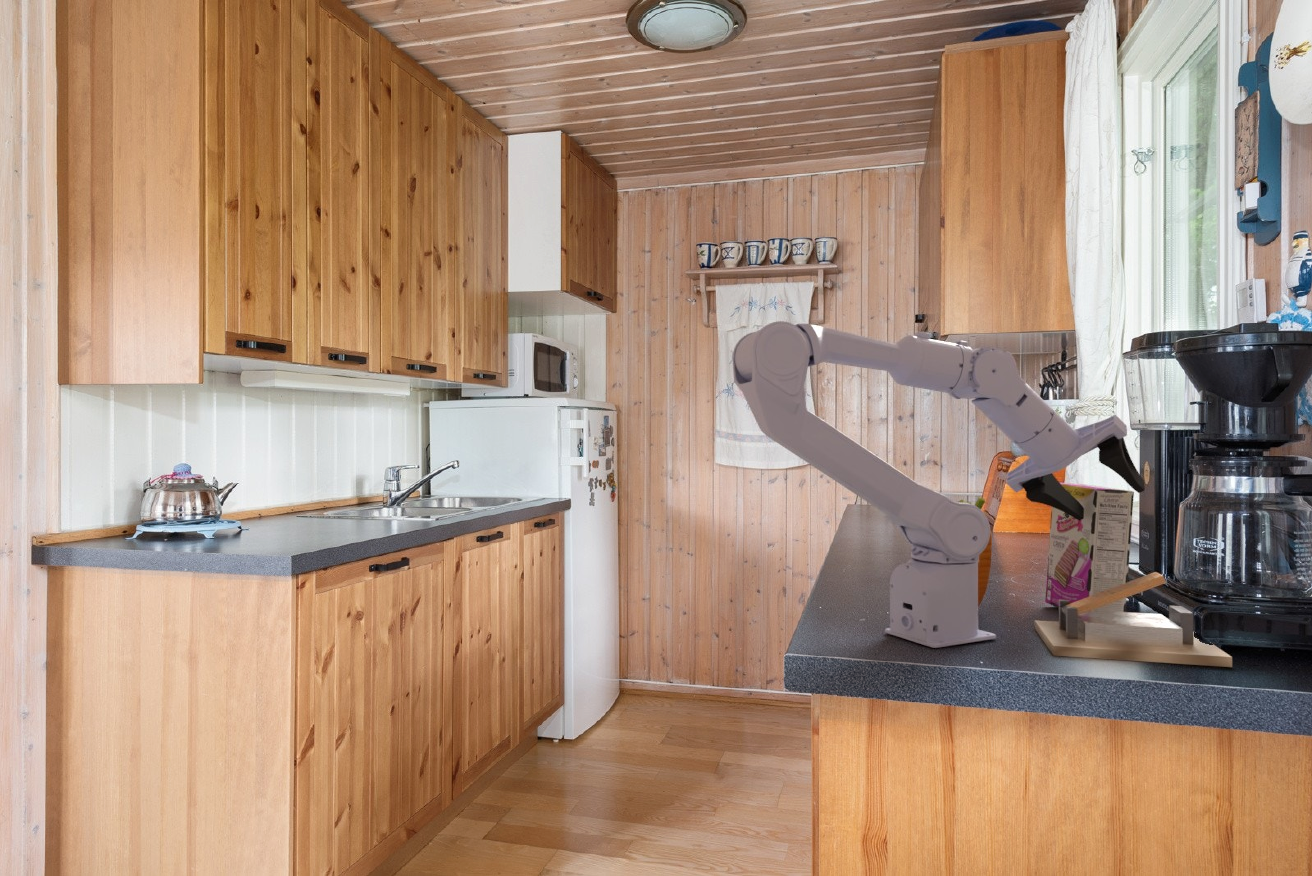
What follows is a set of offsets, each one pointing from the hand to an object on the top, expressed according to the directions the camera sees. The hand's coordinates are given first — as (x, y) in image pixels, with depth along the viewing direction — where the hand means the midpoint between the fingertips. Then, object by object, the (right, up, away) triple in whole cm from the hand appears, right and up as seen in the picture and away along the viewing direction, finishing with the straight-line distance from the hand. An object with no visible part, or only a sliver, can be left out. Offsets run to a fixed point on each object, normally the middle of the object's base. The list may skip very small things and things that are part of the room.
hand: (1110, 500), depth 95 cm
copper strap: (-4, -10, -8) cm, 14 cm away
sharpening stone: (-3, -15, -8) cm, 18 cm away
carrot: (-13, -15, +10) cm, 22 cm away
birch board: (-3, -15, -8) cm, 18 cm away
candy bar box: (0, -15, +7) cm, 16 cm away
